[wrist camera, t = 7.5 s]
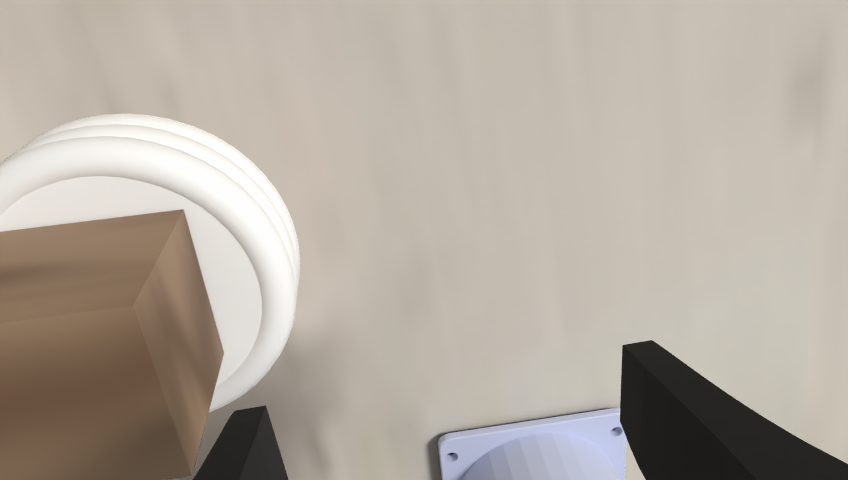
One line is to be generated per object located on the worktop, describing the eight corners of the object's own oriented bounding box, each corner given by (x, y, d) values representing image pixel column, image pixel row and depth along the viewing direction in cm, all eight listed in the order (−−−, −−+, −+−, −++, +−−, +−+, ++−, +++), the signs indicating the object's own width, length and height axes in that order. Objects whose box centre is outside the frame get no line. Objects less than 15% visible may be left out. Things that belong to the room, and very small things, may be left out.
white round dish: (270, 90, 20) (257, 122, 17) (321, 347, 25) (319, 409, 22) (-60, 128, 20) (-134, 169, 17) (55, 385, 24) (13, 454, 21)
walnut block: (224, 353, 21) (192, 475, 16) (61, 375, 20) (-18, 506, 16) (183, 209, 18) (132, 306, 14) (-1, 231, 18) (-113, 338, 13)
